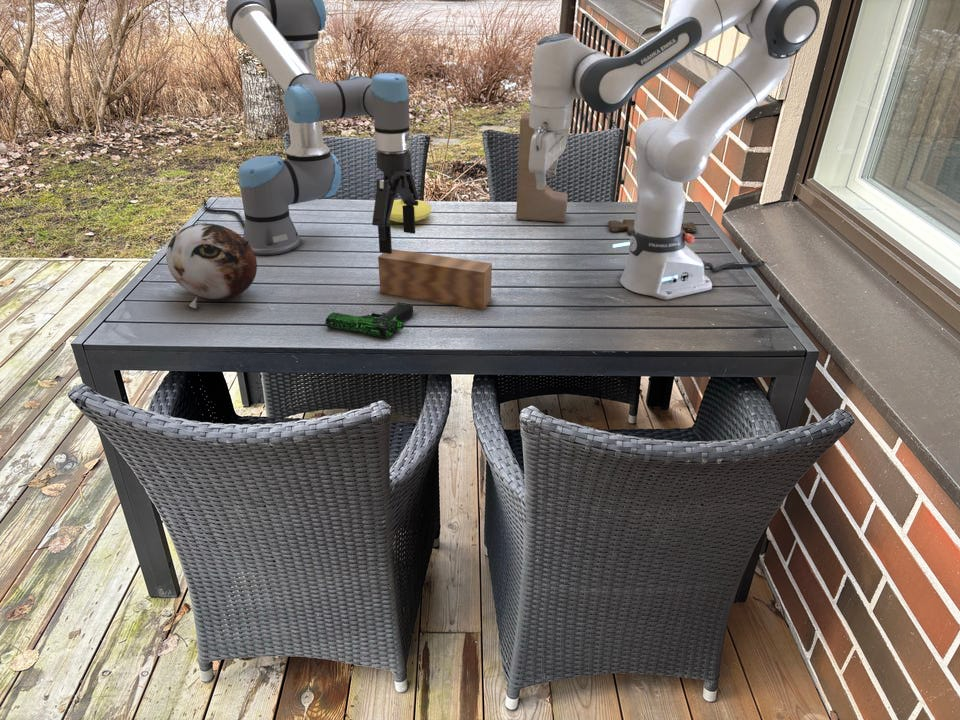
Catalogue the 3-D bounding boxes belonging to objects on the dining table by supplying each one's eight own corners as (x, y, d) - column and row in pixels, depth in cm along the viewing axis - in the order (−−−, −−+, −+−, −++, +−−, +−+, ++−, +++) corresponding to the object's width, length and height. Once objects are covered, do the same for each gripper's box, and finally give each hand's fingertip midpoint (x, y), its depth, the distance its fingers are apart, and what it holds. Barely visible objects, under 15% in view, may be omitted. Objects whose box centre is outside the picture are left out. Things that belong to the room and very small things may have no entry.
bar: (380, 293, 172) (377, 256, 167) (389, 283, 176) (388, 248, 172) (483, 309, 165) (484, 272, 160) (491, 299, 170) (491, 263, 165)
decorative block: (565, 222, 215) (573, 120, 200) (515, 219, 217) (520, 117, 202) (566, 214, 222) (574, 114, 206) (518, 211, 223) (522, 112, 208)
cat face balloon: (130, 285, 161) (164, 203, 163) (192, 308, 177) (221, 233, 178) (195, 307, 151) (229, 220, 152) (254, 330, 166) (285, 250, 168)
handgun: (421, 304, 161) (388, 331, 148) (421, 316, 162) (389, 343, 150) (358, 292, 166) (322, 317, 154) (359, 304, 167) (323, 330, 155)
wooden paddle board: (699, 237, 207) (691, 225, 216) (700, 231, 206) (692, 220, 215) (610, 234, 207) (606, 222, 216) (611, 228, 207) (607, 217, 215)
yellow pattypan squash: (403, 206, 226) (402, 184, 222) (442, 217, 218) (442, 194, 215) (368, 220, 215) (367, 197, 211) (408, 231, 207) (407, 208, 203)
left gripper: (384, 166, 145) (390, 263, 155) (430, 138, 165) (432, 226, 176) (351, 163, 147) (359, 259, 157) (400, 136, 167) (404, 223, 178)
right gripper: (553, 130, 142) (549, 198, 149) (574, 110, 158) (569, 171, 165) (522, 127, 143) (519, 194, 150) (546, 107, 160) (543, 169, 167)
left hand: (398, 242), depth 167 cm, fingers open, 13 cm apart
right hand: (546, 182), depth 158 cm, fingers open, 8 cm apart
